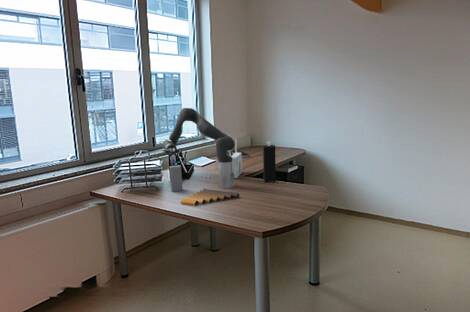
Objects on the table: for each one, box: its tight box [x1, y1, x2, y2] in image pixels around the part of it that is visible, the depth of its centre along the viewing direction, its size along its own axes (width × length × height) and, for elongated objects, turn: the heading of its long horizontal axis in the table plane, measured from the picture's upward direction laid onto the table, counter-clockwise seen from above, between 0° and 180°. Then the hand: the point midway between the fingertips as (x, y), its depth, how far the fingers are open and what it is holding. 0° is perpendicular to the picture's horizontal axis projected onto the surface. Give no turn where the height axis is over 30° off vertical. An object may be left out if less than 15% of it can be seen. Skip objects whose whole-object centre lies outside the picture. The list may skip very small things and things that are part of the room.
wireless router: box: [227, 133, 250, 159], centre depth 345 cm, size 34×23×20 cm
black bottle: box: [262, 140, 277, 183], centre depth 248 cm, size 8×8×28 cm
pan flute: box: [180, 188, 240, 207], centre depth 211 cm, size 25×3×25 cm
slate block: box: [169, 165, 183, 192], centre depth 235 cm, size 4×7×16 cm, turn 104°
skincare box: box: [231, 153, 243, 179], centre depth 269 cm, size 21×5×16 cm, turn 168°
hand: (173, 153), depth 241 cm, fingers closed
